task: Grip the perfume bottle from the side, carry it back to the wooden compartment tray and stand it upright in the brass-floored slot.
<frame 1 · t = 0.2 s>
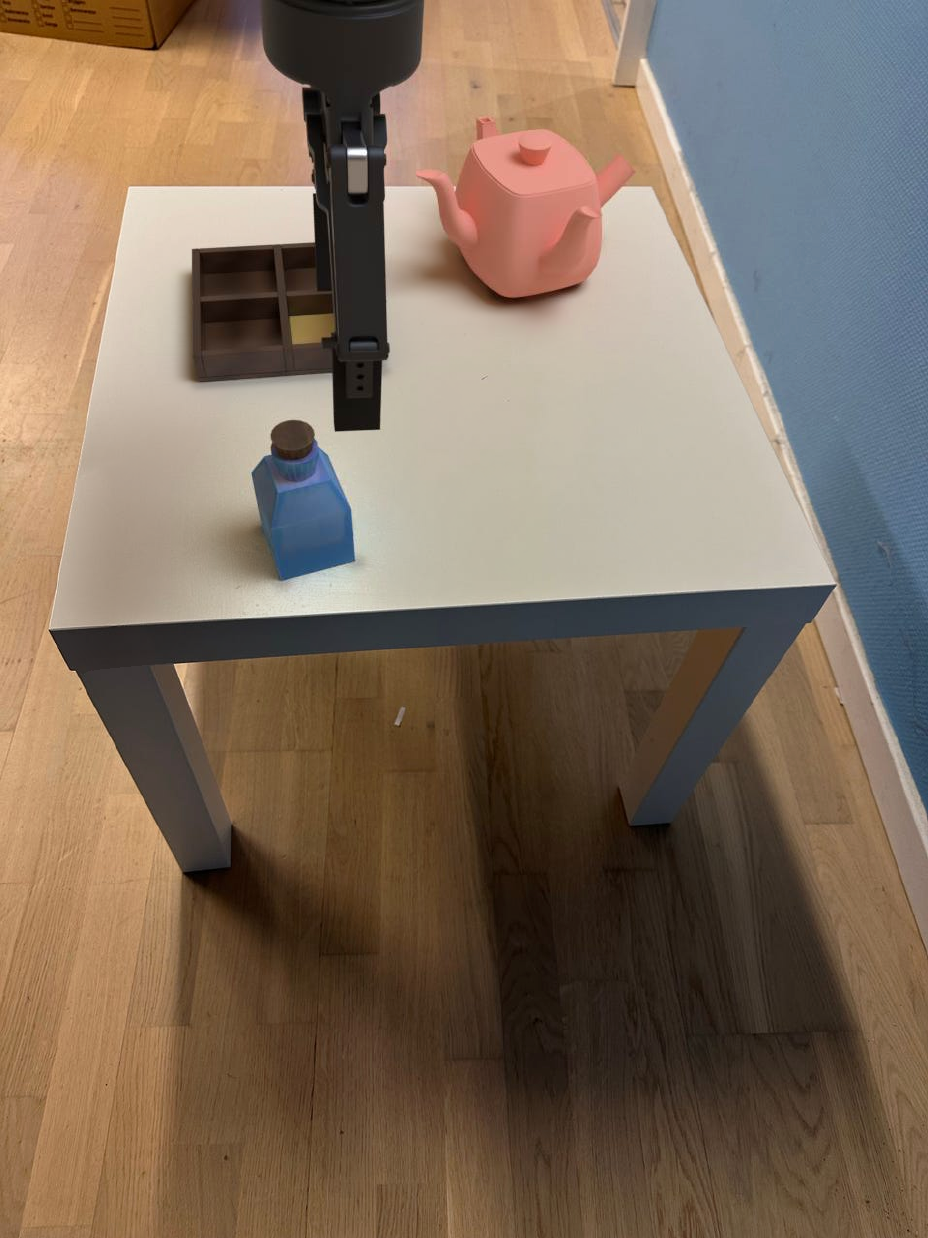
hand: (346, 353, 57), 20 cm above the table, tool pointing down, fingers open, 13 cm apart
perfume bottle: (308, 544, 74), on the table
wooden compartment tray: (285, 319, 91), on the table
teapot: (521, 271, 98), on the table
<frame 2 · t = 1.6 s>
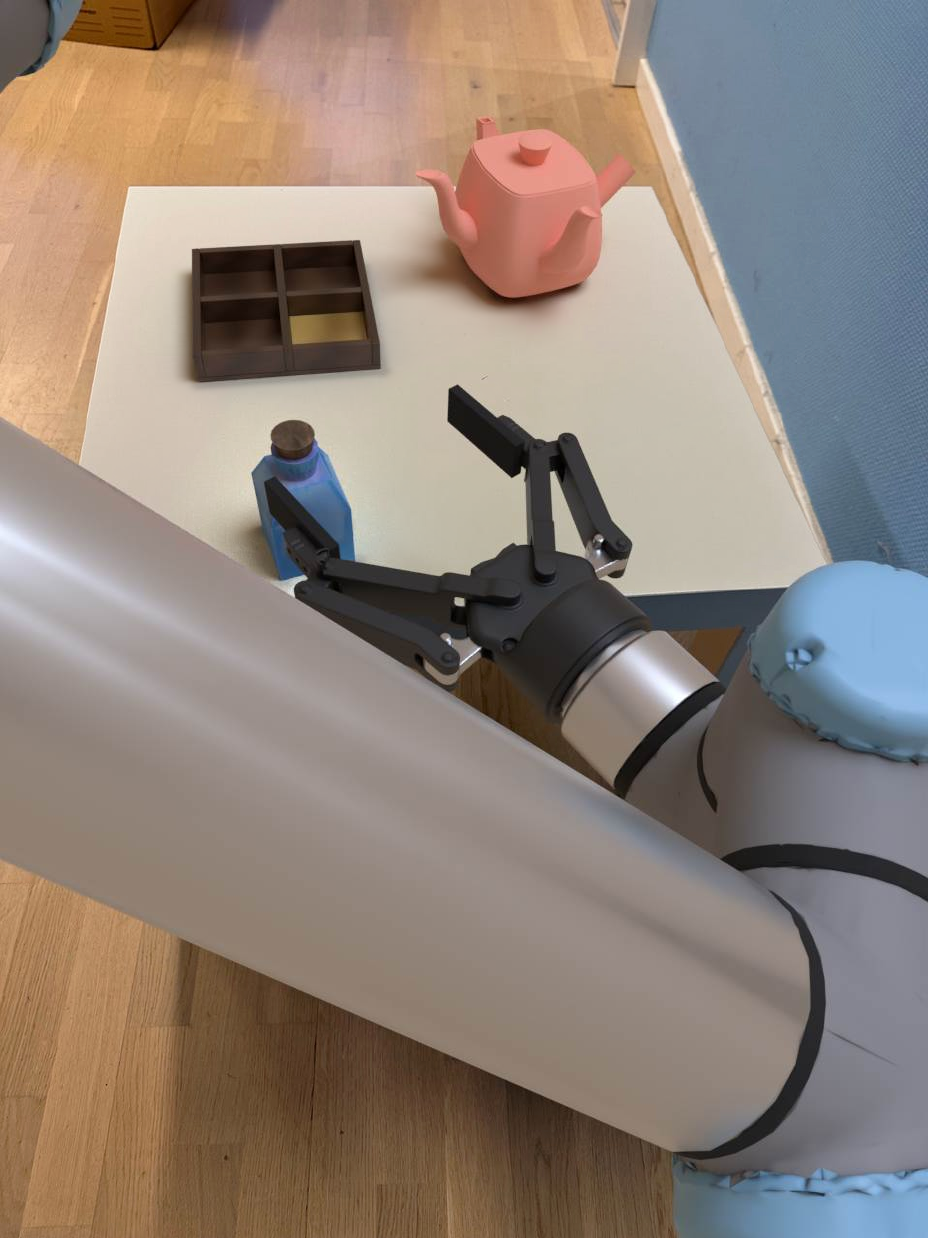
hand: (366, 446, 55), 18 cm above the table, tool horizontal, fingers open, 13 cm apart
nothing on the table moved.
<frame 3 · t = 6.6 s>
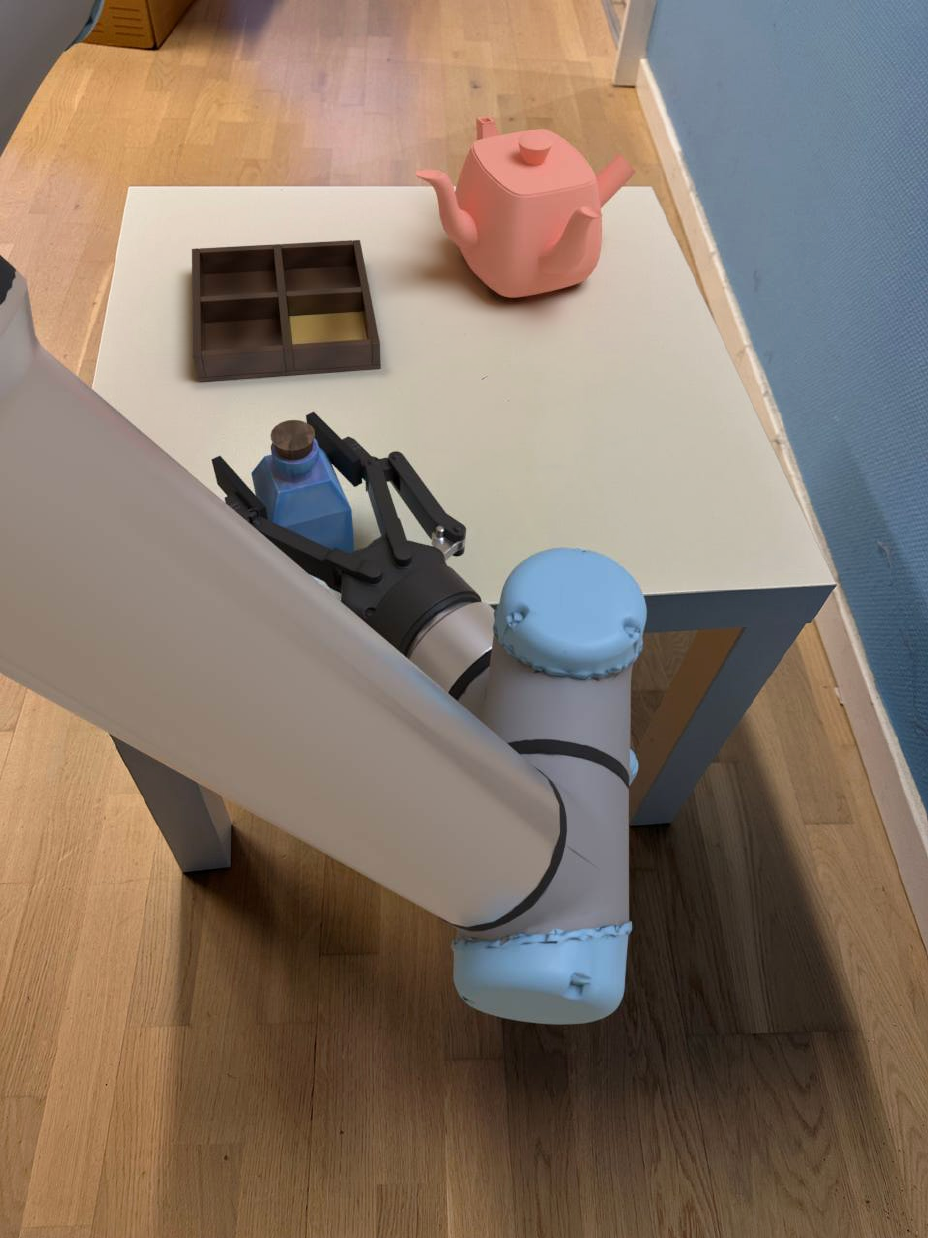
hand: (266, 447, 70), 7 cm above the table, tool horizontal, fingers closed on perfume bottle, 8 cm apart
perfume bottle: (308, 544, 74), on the table, touching gripper
everything else where it was.
when the fingers open (8 cm above the table, at t = 15.3 s): perfume bottle stays where it is, resting on wooden compartment tray.
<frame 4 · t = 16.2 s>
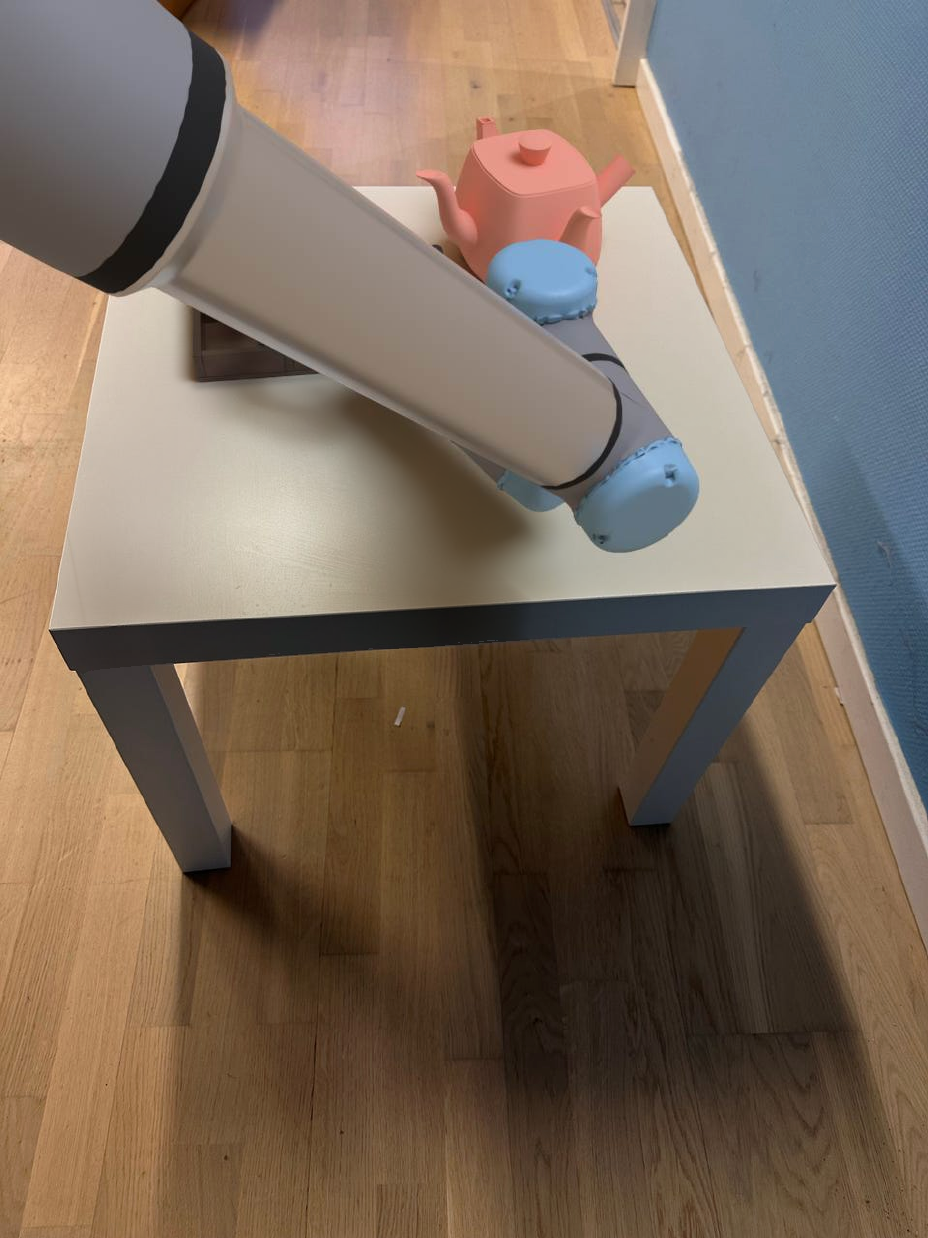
hand: (304, 252, 84), 8 cm above the table, tool horizontal, fingers open, 13 cm apart
perfume bottle: (330, 338, 89), point 1 cm above the table, touching wooden compartment tray
everything else where it was.
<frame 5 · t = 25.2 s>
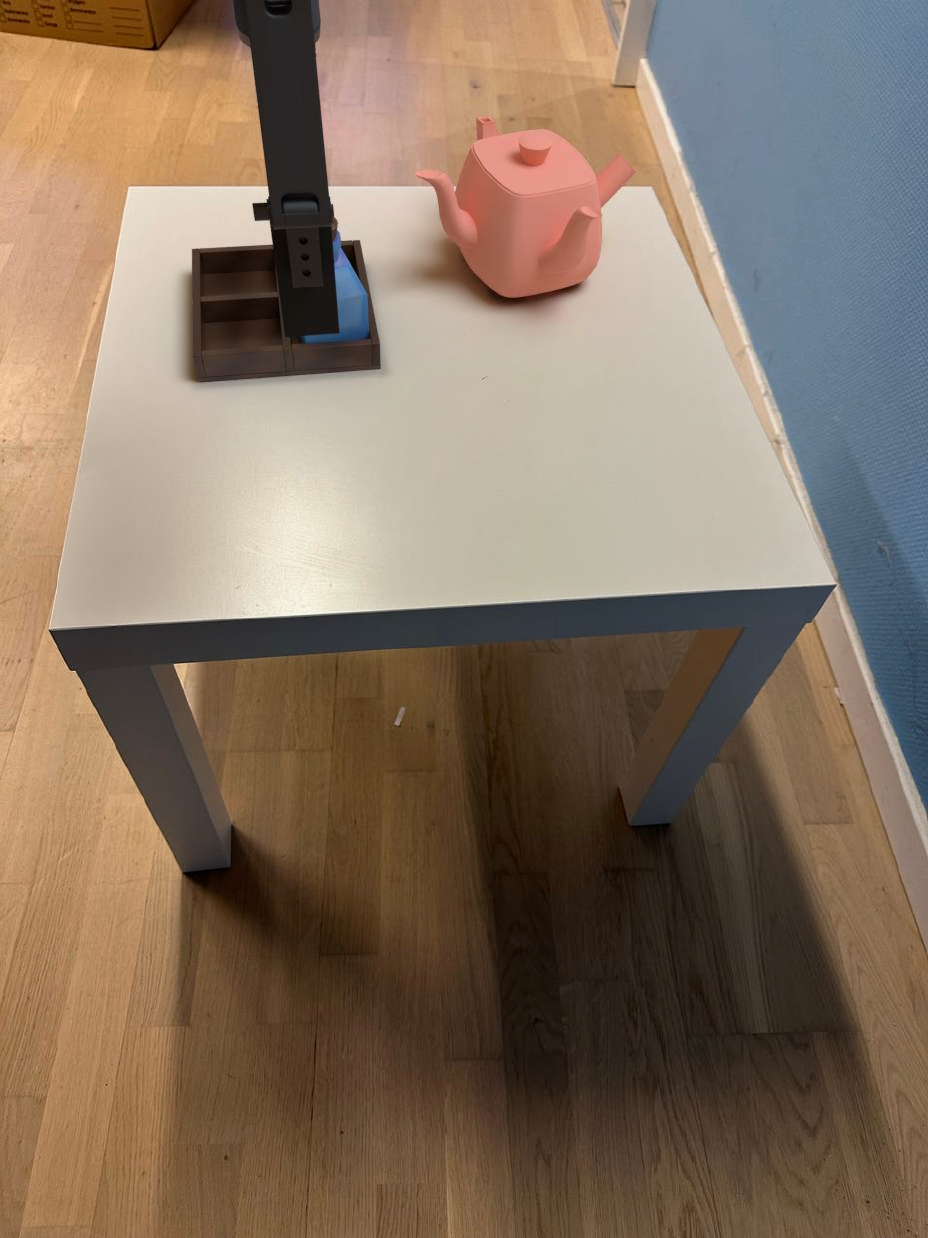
hand: (302, 253, 49), 29 cm above the table, tool pointing down, fingers open, 13 cm apart
nothing on the table moved.
at the end: perfume bottle 0.1 cm from the target spot in the wooden compartment tray, point 0.5 cm above the wooden compartment tray's base; perfume bottle tilted 0°; the gripper is holding nothing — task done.
